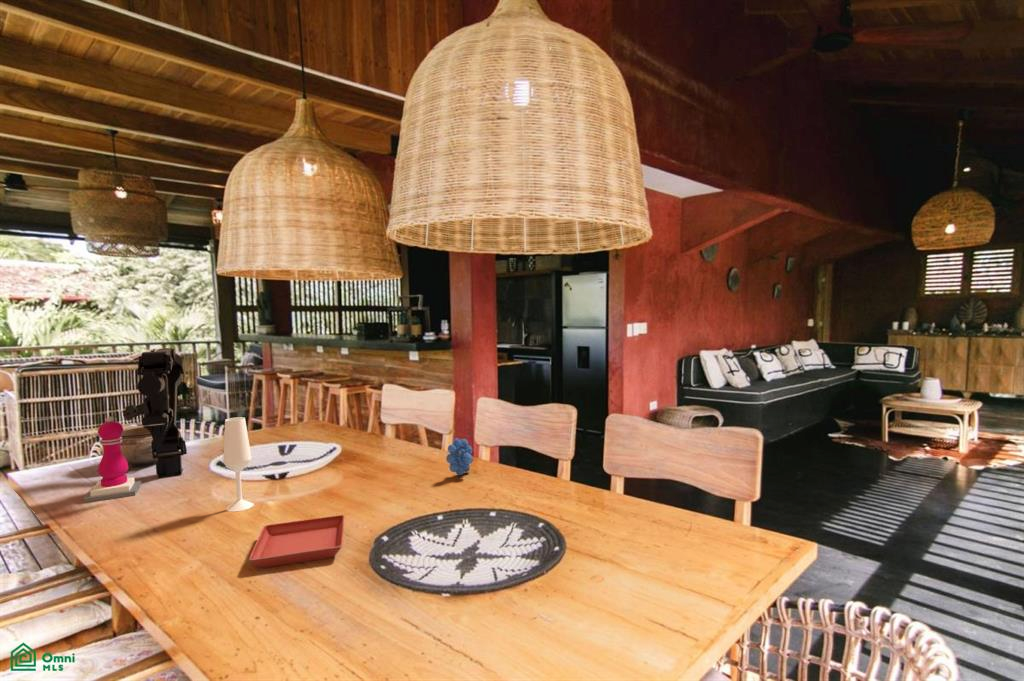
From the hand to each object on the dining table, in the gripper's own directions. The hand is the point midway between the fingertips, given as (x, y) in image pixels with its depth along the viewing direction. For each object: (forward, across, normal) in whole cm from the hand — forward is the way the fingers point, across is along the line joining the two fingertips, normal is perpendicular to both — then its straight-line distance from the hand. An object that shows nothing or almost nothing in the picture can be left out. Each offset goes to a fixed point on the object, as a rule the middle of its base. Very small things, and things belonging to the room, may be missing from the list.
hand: (159, 444), depth 159 cm
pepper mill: (+10, -3, -12) cm, 16 cm away
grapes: (+15, +38, +82) cm, 92 cm away
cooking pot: (+12, -36, -9) cm, 39 cm away
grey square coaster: (+13, -3, -12) cm, 18 cm away
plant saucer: (+17, +65, +32) cm, 74 cm away
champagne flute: (+15, +30, +20) cm, 39 cm away
